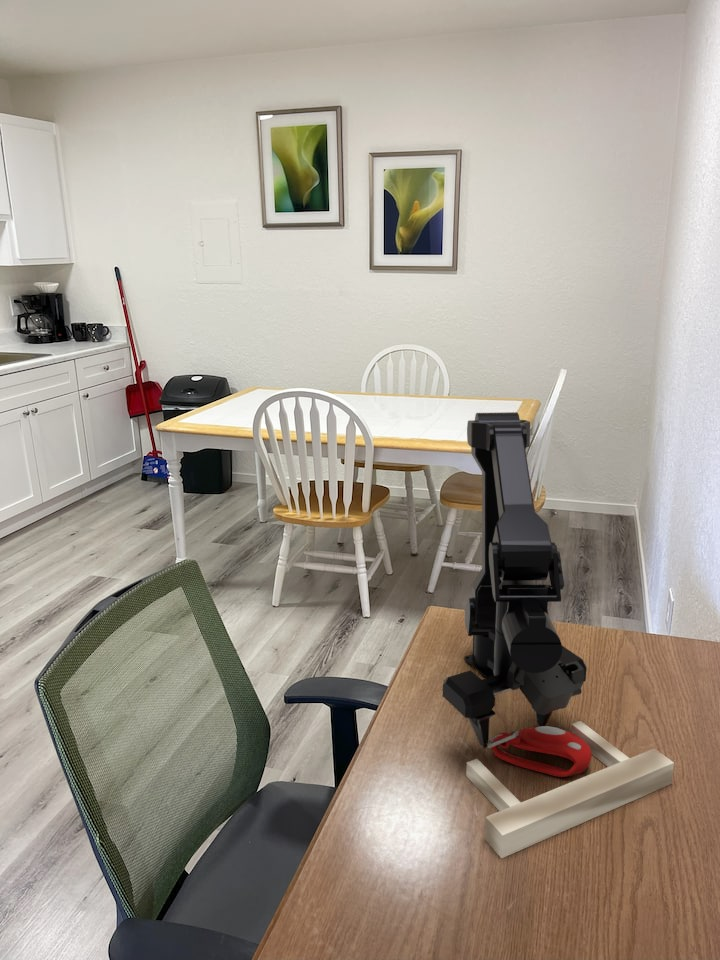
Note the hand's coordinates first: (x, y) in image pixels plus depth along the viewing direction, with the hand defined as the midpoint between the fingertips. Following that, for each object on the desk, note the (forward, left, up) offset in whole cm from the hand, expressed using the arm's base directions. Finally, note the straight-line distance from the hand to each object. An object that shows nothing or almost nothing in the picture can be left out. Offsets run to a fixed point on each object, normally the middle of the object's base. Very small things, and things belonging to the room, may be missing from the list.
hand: (512, 735), depth 96 cm
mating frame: (+9, 0, -1) cm, 9 cm away
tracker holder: (+3, +2, -2) cm, 4 cm away
